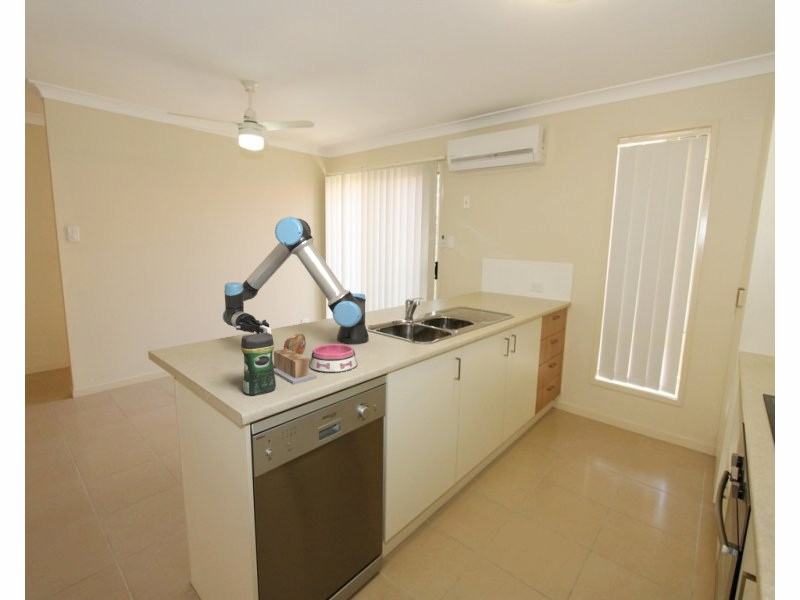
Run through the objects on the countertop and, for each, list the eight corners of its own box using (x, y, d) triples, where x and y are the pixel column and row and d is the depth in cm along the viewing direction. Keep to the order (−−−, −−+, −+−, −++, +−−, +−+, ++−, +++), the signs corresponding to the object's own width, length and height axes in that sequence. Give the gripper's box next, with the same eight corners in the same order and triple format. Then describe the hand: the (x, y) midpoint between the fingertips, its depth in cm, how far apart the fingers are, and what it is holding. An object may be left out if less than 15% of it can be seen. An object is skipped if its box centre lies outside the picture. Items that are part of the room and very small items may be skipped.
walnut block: (286, 348, 144) (308, 358, 132) (286, 363, 145) (308, 375, 133) (273, 351, 140) (295, 361, 129) (274, 366, 141) (295, 378, 130)
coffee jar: (269, 383, 128) (268, 329, 125) (278, 391, 122) (277, 334, 119) (239, 389, 122) (237, 333, 119) (247, 398, 116) (245, 338, 113)
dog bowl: (308, 359, 154) (308, 343, 153) (354, 357, 159) (354, 341, 158) (309, 375, 137) (309, 357, 136) (360, 372, 141) (360, 354, 140)
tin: (289, 361, 151) (289, 340, 149) (282, 360, 151) (281, 340, 150) (306, 351, 165) (306, 332, 164) (299, 350, 166) (299, 331, 165)
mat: (294, 366, 145) (294, 364, 145) (316, 378, 133) (316, 375, 133) (271, 371, 139) (271, 369, 138) (293, 384, 127) (293, 381, 127)
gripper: (258, 328, 169) (284, 338, 152) (228, 332, 160) (253, 344, 143) (258, 311, 168) (284, 320, 151) (228, 314, 158) (252, 324, 142)
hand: (269, 332), depth 147 cm, fingers closed
